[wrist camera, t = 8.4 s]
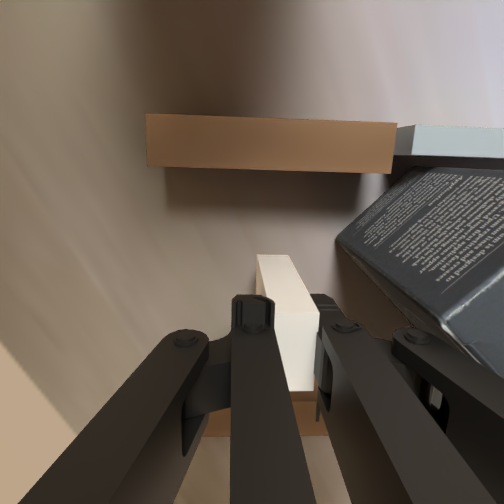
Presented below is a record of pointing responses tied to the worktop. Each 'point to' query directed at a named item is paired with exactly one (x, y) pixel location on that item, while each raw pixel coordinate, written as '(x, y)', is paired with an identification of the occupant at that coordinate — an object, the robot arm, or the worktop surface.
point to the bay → (449, 153)
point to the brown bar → (270, 158)
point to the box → (440, 255)
